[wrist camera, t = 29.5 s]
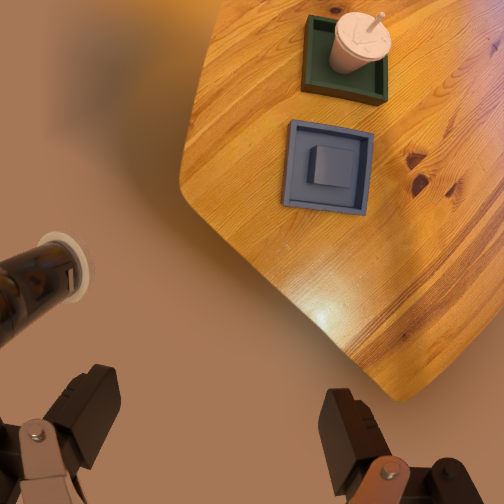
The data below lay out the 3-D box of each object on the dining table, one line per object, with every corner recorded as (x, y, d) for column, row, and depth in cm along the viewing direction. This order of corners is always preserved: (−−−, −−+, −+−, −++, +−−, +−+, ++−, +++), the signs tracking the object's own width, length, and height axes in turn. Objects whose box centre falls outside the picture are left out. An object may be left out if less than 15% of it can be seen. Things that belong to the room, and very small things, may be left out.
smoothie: (372, 66, 33) (419, 26, 19) (345, 92, 34) (387, 55, 20) (338, 35, 32) (371, -16, 18) (309, 60, 33) (334, 9, 19)
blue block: (306, 182, 37) (313, 183, 33) (310, 148, 36) (317, 144, 32) (340, 187, 37) (350, 188, 33) (343, 153, 36) (354, 150, 32)
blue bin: (280, 203, 38) (283, 205, 35) (288, 124, 36) (291, 119, 32) (356, 212, 38) (365, 216, 35) (364, 137, 36) (374, 133, 32)
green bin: (300, 91, 35) (304, 83, 31) (304, 25, 32) (308, 14, 29) (377, 106, 35) (388, 101, 31) (377, 41, 32) (386, 32, 29)
